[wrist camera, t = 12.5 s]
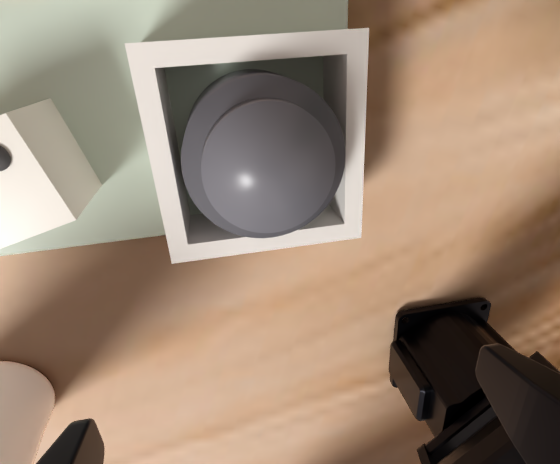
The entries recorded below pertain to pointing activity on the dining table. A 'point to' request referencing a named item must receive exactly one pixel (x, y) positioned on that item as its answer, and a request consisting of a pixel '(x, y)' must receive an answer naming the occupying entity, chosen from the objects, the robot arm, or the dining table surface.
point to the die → (40, 173)
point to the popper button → (261, 154)
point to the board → (176, 104)
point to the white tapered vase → (23, 411)
